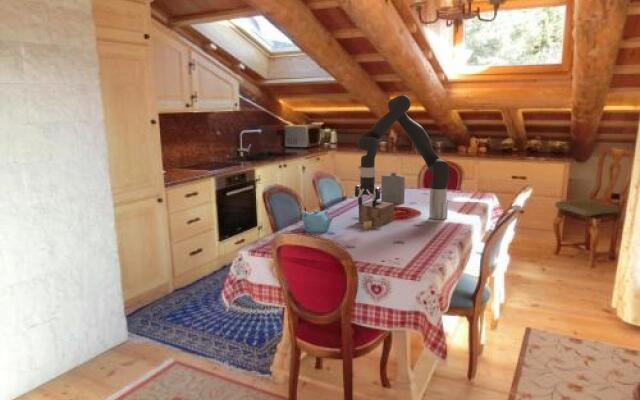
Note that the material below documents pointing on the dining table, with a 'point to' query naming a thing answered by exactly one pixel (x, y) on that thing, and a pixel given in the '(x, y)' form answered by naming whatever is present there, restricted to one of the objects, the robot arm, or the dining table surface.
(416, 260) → the dining table surface
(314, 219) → the teapot
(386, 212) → the box
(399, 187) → the hip flask
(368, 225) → the wooden block
